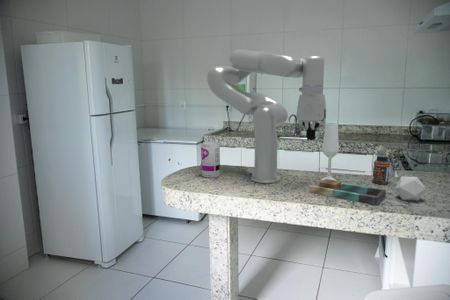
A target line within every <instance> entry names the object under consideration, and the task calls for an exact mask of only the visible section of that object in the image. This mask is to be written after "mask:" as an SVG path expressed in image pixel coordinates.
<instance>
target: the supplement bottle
mask: <svg viewBox="0 0 450 300" xmlns="http://www.w3.org/2000/svg"><path fill="white" fill-rule="evenodd" d="M388 159H389V157H388V155H386V154H385V155H384V154H378V155H376V159H375V160H374V161H373V165H372V166H373V167H372V175H371V176H372V180H371V181H372V183H374V184H377V185H388V183H389V178H390V177H389V175H390V164H391V163H390V161H389V160H388Z"/></svg>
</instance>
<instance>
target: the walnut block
mask: <svg viewBox="0 0 450 300" xmlns="http://www.w3.org/2000/svg"><path fill="white" fill-rule="evenodd" d="M341 183H342V181H341V180H337V181H335V180H330V179H325V180H323V181H321V182H319V181H318V185H319V186H318V187H324V188H329V189H335V190H340V191H342V190H341Z"/></svg>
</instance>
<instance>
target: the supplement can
mask: <svg viewBox="0 0 450 300" xmlns="http://www.w3.org/2000/svg"><path fill="white" fill-rule="evenodd" d="M220 147H221V146H220V144H219V142H218V141H203V142H202V144H201V145H200V155H201V156H200V157H201V159H200V161H201V162H200V163H201V169H200V170H201V176H202V177H203V178H207V179H214V178H218V177H219V176H220V175H221V156H220V155H221V154H220V153H221V151H220Z"/></svg>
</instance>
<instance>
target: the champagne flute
mask: <svg viewBox="0 0 450 300" xmlns="http://www.w3.org/2000/svg"><path fill="white" fill-rule="evenodd" d="M323 134H324V135H323V141H322V147H321V151H322V154H324V156H326V157H327V158H328V160H327V161H328V162H327V166H328V167H327V176H324V177H323V178H321V179H322V180H325V179H330V180H335V181H338V180H337V179H335V178H334V177H332V175H331V174H332V173H331V172H332V158H334V157H335V156H337V155H338V153H339V151H340V145H339V144H340V142H339V123H334V122H327V123H326V124H325V125H324V133H323Z"/></svg>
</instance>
